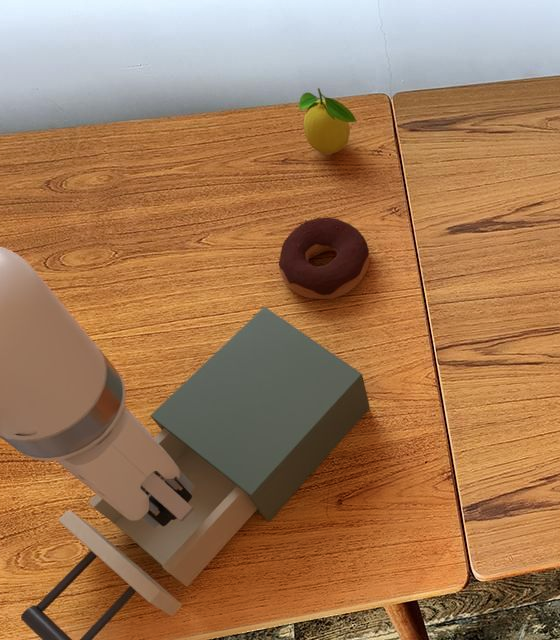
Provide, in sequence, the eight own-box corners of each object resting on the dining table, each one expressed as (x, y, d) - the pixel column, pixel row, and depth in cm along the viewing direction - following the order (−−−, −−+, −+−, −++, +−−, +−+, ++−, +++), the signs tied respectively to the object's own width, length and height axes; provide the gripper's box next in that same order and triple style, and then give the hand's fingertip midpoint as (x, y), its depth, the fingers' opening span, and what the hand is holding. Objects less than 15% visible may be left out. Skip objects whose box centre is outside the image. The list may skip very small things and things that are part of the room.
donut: (299, 317, 83) (293, 297, 80) (269, 252, 88) (262, 231, 84) (384, 283, 86) (381, 262, 82) (351, 222, 90) (347, 200, 87)
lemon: (362, 162, 95) (353, 100, 87) (317, 174, 94) (303, 113, 86) (346, 126, 99) (336, 63, 90) (302, 138, 97) (288, 75, 89)
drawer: (105, 691, 63) (76, 683, 58) (18, 606, 66) (-18, 591, 61) (281, 494, 72) (268, 473, 67) (196, 428, 75) (178, 403, 70)
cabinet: (269, 522, 71) (250, 495, 65) (176, 447, 75) (149, 415, 68) (370, 408, 78) (362, 373, 71) (279, 344, 81) (264, 306, 75)
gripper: (-77, 368, 49) (52, 469, 65) (97, 522, 44) (191, 590, 60) (21, 291, 52) (121, 404, 68) (194, 425, 47) (259, 514, 63)
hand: (153, 491), depth 64 cm, fingers closed on block, 4 cm apart
